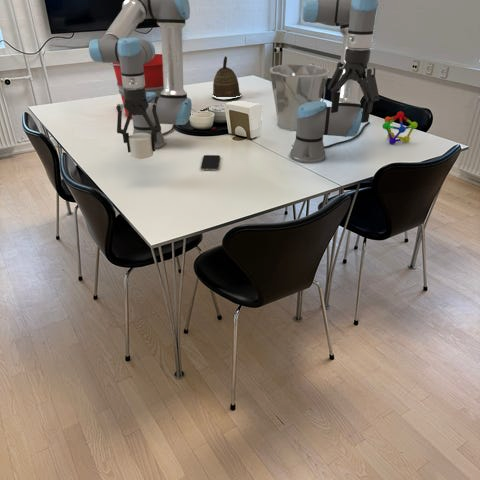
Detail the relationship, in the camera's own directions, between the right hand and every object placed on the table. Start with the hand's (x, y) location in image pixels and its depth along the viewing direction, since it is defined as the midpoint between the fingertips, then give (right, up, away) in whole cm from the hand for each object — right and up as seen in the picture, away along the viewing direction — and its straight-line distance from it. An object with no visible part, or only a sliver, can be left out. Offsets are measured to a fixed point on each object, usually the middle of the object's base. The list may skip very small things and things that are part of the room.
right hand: (348, 117), depth 148 cm
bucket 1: (-88, +30, +102) cm, 139 cm away
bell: (-45, +50, +134) cm, 150 cm away
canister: (-73, -9, +17) cm, 75 cm away
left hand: (-73, -8, +16) cm, 75 cm away
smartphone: (-49, -9, +40) cm, 64 cm away
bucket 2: (-7, +19, +86) cm, 88 cm away
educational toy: (+38, +5, +63) cm, 74 cm away
